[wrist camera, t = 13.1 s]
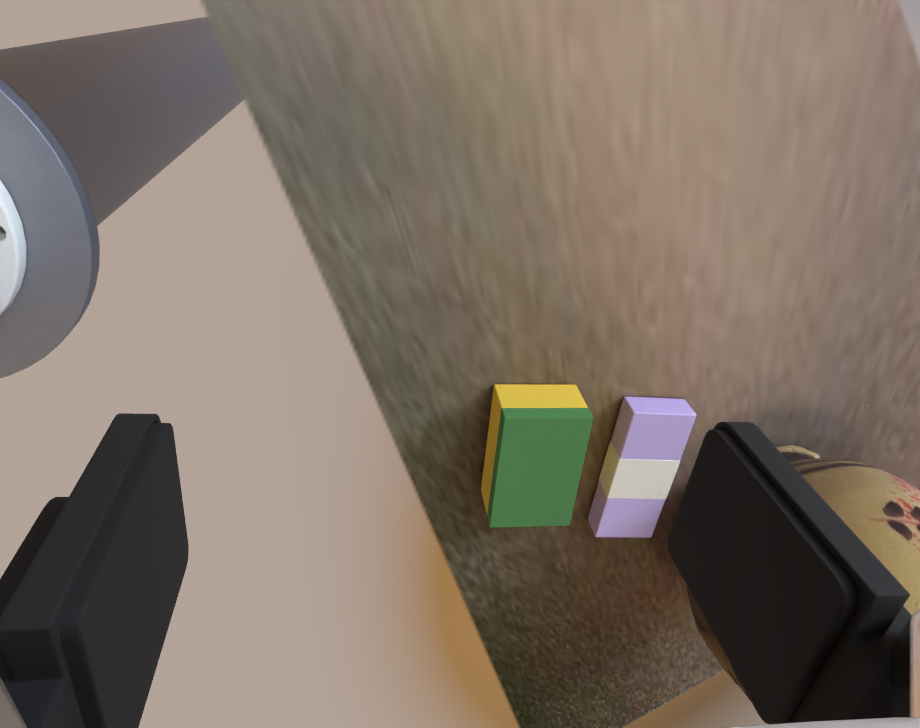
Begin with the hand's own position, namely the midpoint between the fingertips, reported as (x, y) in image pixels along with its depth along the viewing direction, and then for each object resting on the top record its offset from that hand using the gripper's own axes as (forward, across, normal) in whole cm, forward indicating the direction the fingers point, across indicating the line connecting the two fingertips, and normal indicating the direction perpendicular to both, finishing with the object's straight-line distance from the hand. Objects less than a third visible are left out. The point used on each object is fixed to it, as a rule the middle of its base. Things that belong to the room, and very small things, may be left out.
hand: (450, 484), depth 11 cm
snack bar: (+22, -17, +17) cm, 33 cm away
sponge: (+23, -9, +16) cm, 29 cm away
